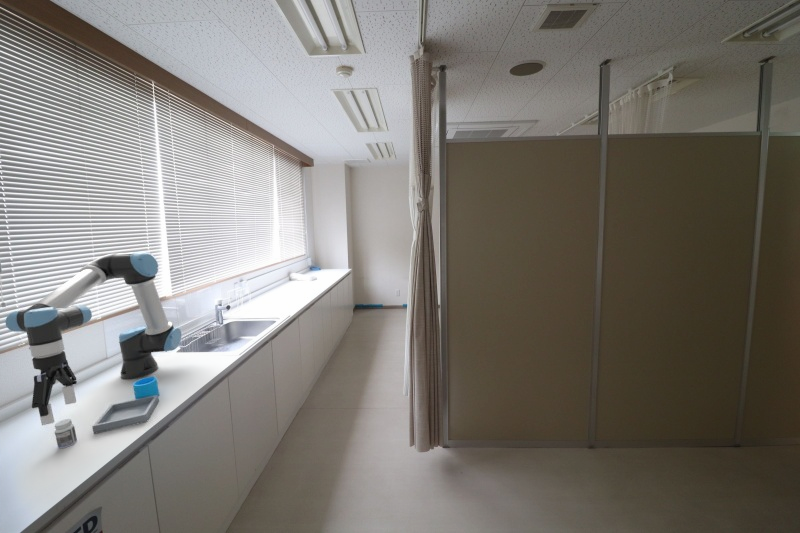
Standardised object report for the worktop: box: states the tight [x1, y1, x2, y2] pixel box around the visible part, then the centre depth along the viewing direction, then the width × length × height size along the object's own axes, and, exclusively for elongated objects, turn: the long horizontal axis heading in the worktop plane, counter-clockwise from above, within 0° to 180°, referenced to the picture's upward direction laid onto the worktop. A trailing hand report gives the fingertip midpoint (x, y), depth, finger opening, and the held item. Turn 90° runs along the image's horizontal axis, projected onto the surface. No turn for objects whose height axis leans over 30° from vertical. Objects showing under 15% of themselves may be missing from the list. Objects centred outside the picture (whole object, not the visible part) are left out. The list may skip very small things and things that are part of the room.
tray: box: [92, 395, 160, 435], centre depth 128 cm, size 16×16×3 cm
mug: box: [132, 376, 160, 400], centre depth 142 cm, size 12×8×8 cm
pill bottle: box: [54, 418, 78, 449], centre depth 112 cm, size 5×5×8 cm
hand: (60, 413), depth 111 cm, fingers open, 13 cm apart
